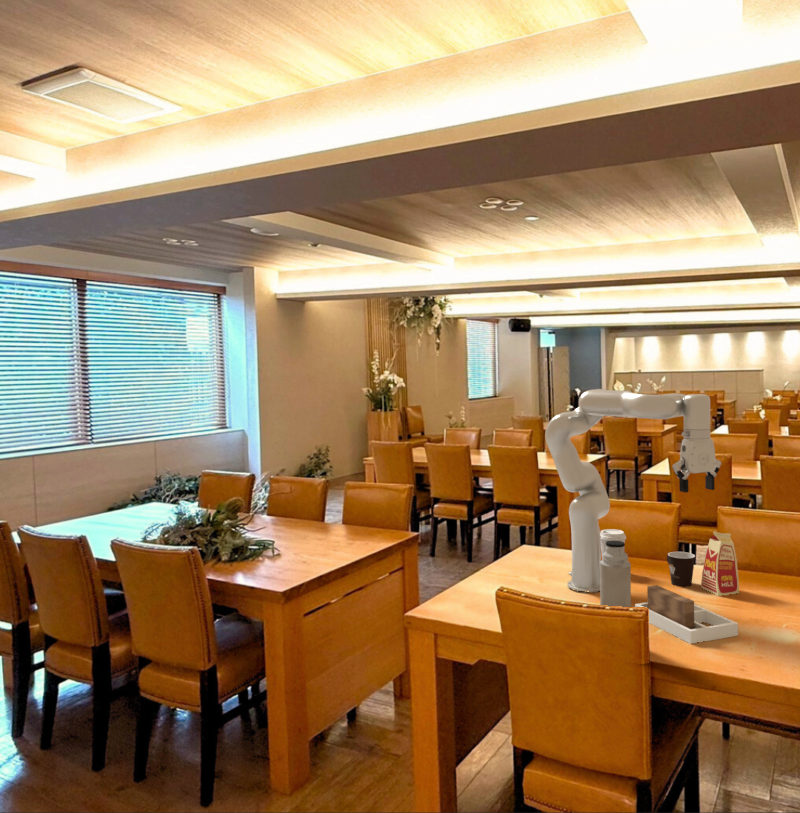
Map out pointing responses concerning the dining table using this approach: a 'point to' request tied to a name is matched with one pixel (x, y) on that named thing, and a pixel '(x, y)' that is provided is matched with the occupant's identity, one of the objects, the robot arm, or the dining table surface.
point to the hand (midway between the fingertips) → (697, 490)
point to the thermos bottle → (615, 576)
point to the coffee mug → (681, 568)
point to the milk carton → (720, 566)
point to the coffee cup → (611, 537)
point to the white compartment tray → (695, 625)
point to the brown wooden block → (671, 605)
